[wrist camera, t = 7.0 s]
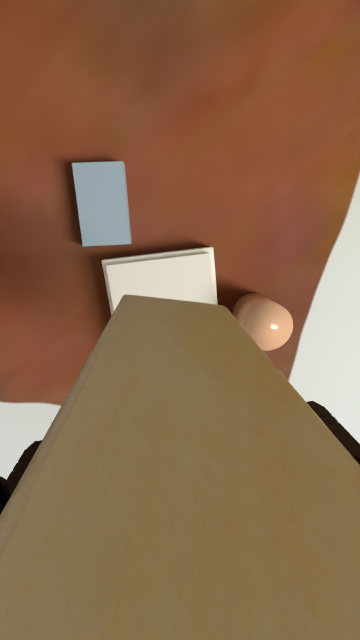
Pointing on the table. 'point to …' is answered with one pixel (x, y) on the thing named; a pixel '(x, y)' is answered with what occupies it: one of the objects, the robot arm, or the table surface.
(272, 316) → the peach egg shape
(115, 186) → the book
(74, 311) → the table surface
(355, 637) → the tall cream block
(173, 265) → the podium
